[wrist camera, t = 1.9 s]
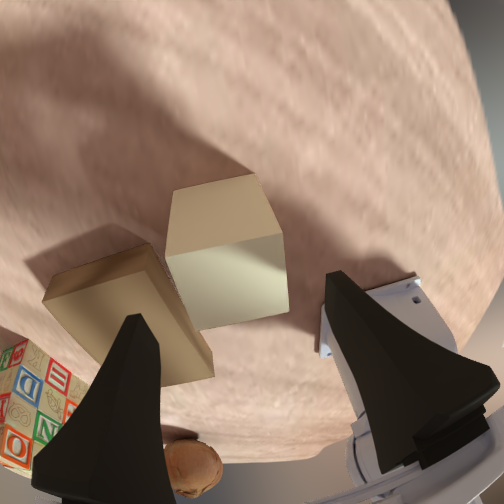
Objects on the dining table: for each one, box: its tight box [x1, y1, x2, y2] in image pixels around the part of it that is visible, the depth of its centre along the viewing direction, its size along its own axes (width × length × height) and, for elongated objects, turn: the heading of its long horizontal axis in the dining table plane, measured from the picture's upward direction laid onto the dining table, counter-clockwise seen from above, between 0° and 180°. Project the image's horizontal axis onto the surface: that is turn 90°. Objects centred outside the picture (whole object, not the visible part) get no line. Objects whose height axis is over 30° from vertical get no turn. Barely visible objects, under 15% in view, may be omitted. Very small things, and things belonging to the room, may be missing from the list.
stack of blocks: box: [0, 339, 90, 479], centre depth 23 cm, size 21×6×12 cm, turn 22°
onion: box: [164, 438, 223, 498], centre depth 34 cm, size 10×9×10 cm
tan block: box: [42, 243, 215, 387], centre depth 20 cm, size 8×12×3 cm, turn 13°
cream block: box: [165, 173, 289, 331], centre depth 15 cm, size 4×4×6 cm
